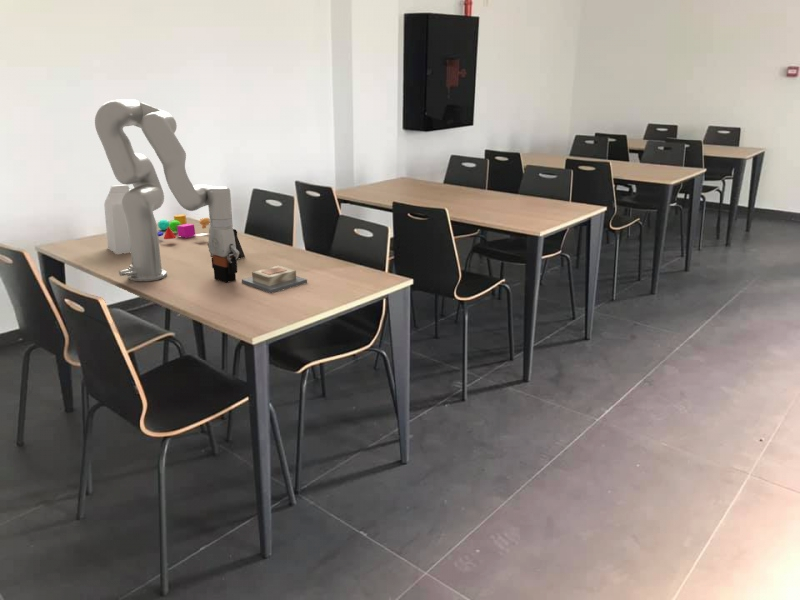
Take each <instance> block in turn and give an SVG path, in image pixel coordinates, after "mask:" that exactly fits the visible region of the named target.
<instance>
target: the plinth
mask: <svg viewBox="0 0 800 600" xmlns="http://www.w3.org/2000/svg"><path fill="white" fill-rule="evenodd" d="M296 276H297V271H296V269H293V268H290V267H286V266H283V265H279V264H278V265H274V266H272V267H267V268H263V269H258V270H256V271H252V272H251V277H252V279H253V281H256V282H258V283H261V284H264V285H267V286H271V285H275V284H278V283H282V282H286V281H289V280H293V279H296Z"/></svg>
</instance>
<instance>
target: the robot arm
mask: <svg viewBox="0 0 800 600" xmlns="http://www.w3.org/2000/svg"><path fill="white" fill-rule="evenodd" d="M130 126H134V127H137V128H140V129H141V131H142V133H143V135H144V136H145V138H146V140H147V141H148V143H149V145H150V146H151V148H152V149H153V151H154V153H155V154H156V156H157V158H158V159H159V161H160V163H161V165H162V167H163V173H164V177H165V181H166V183H167V185H168V188H169V189H170V191H171V193H172V195H173V197H174V198H175V200H176V201H177V203H178V204H179V205H180V206H181V207H182V209H184V210H186V211H188V212H189V211H190V212H193V211H197V210H199V209H201V208H203V207H206V206H207V207H208V216H209V217H208V218H209V219H210V223H209V225H208V226H209V227H208V243H207V246H208V247H207V248H208V251H209V253H210V254H209V255H210V257H211V267H212V269H214V265H213V255H217V256H220V257H227V259H228V261H229V263H228V271H229V274H234V273H235V274H237V273H238V262H239V261H238V260H239V259H238V258H239V251H238V250H237V249H236V244H235V237H234V231H233V229H234V228H233V224H234V223H233V214H232V213H233V212H232V211H233V210H232V197H231V190H230V188H229V187H228V186H225V185H208V184H202V183H199V184H197V183H196V184H194V185H193V184H192V182H191V180H190V178H189V177H188V174H187V171H186V159H187V154H186V151H185V149H184V147H183V146H182V145H181V143H180V141H179V139H178V137H177V136H176V134H175V133H176V131H177V126H178V125H177V121H176V119H175V117H174V116H173V115H171V114H170V113H169V112H167V111H165V110H162V109H160V108H156V107H154V106H152V105H149V104H147V103H144V102H142V101H139V100H137V99H129V98H128V99H127V98H126V99H114V100H110V101H107V102H105V103H103V104H102V105H101V106H99V109H98V110H97V112H96V113H95V117H94V127H95V130H96V134H97V136H98V138H99V141H100V142H101V144H102V147H103V149H104V150H103V151H104V153H105V154H106V157H107V160H108V162H109V165H110V168H111V170H112V172H113V175H114V178H115V179H116V180H117V181H118V183H120V184H121V185H128V186H130V185H132V186H133V188H130V190H129V191H127V192H126V193H125V195H124V196H123V199H122V207H123V211H124V214H125V218H126V222H127V228H128V235H129V243H130V251H131V253H130V257H131V259H130V260H131V264H130V265H129V266H128V268H127V269H123V270H122V269H121V270H119V271H118V274H119V277H122V276H123V277H125V276H127V277H128V279H129V280H130V281H135V282H153V281H158V280H162V279H164V278H165V277H167V274H168V273H167V270H165V269H162V268H163V267H162V259H161V252H160V241H159V236H158V232H159V231H158V223H157V220H156V218H155V215H154V211H157V210H158V209H159V208H161V207H162V206H163V204H164V202H165V193H164V191H163V187H162V185H161V182H160V180H159V177H158V174H157V171H156V169H155V167H154V164H153V162H152V161H151V160H150V159H149V158H148V157H147V156H146V155H144V154H142V153H138V152H135V151H134V149H133V146H132V143H131V141H130V139H129V137H128V136H127V134H126V133H125V131H124V127H130ZM230 257H232V259H231V258H230Z"/></svg>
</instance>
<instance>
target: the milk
mask: <svg viewBox="0 0 800 600" xmlns="http://www.w3.org/2000/svg"><path fill="white" fill-rule="evenodd" d="M130 189H131V188H130V185H126V184H121V185H120V184H119V185H111V186H110V189H109V193H108V194H107V196H106V199H105V201H104V204H103V205H104V216H105V217H104V219H105V227H106V230H105V231H106V240H107V249H108V248H109V249H108V250H109V251H111V252H112V251H113V252H112V253H114V254H115V255H121V254H122V253H124V254H129V252H131V251H130V243H129V235H128V228H127V222H126V218H125V214H124V211H123V207H122V199H123V196H124V195H125V193H126V192H127V191H129V190H130ZM122 255H123V254H122Z"/></svg>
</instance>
